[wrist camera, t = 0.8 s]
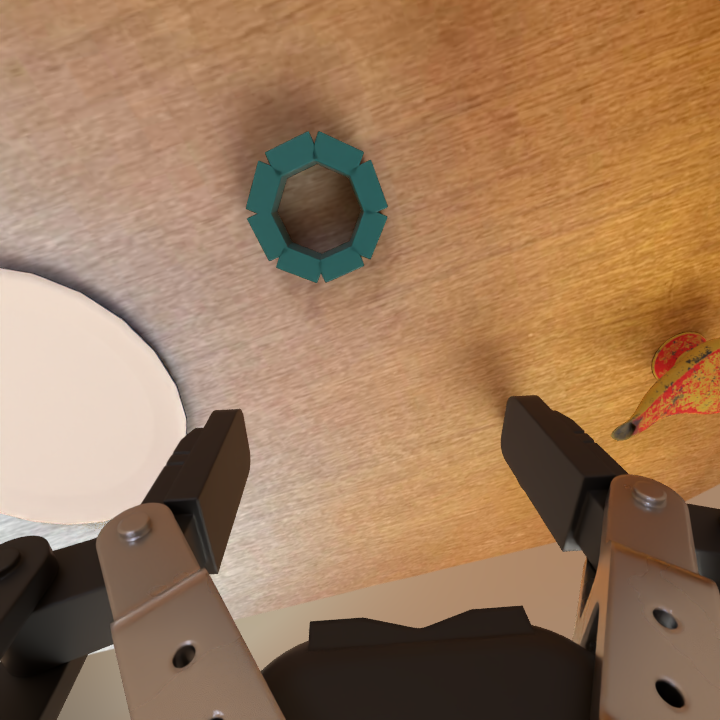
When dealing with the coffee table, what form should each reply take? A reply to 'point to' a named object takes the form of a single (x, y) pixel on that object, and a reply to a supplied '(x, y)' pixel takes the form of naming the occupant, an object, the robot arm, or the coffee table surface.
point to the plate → (78, 406)
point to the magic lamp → (679, 383)
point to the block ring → (269, 193)
